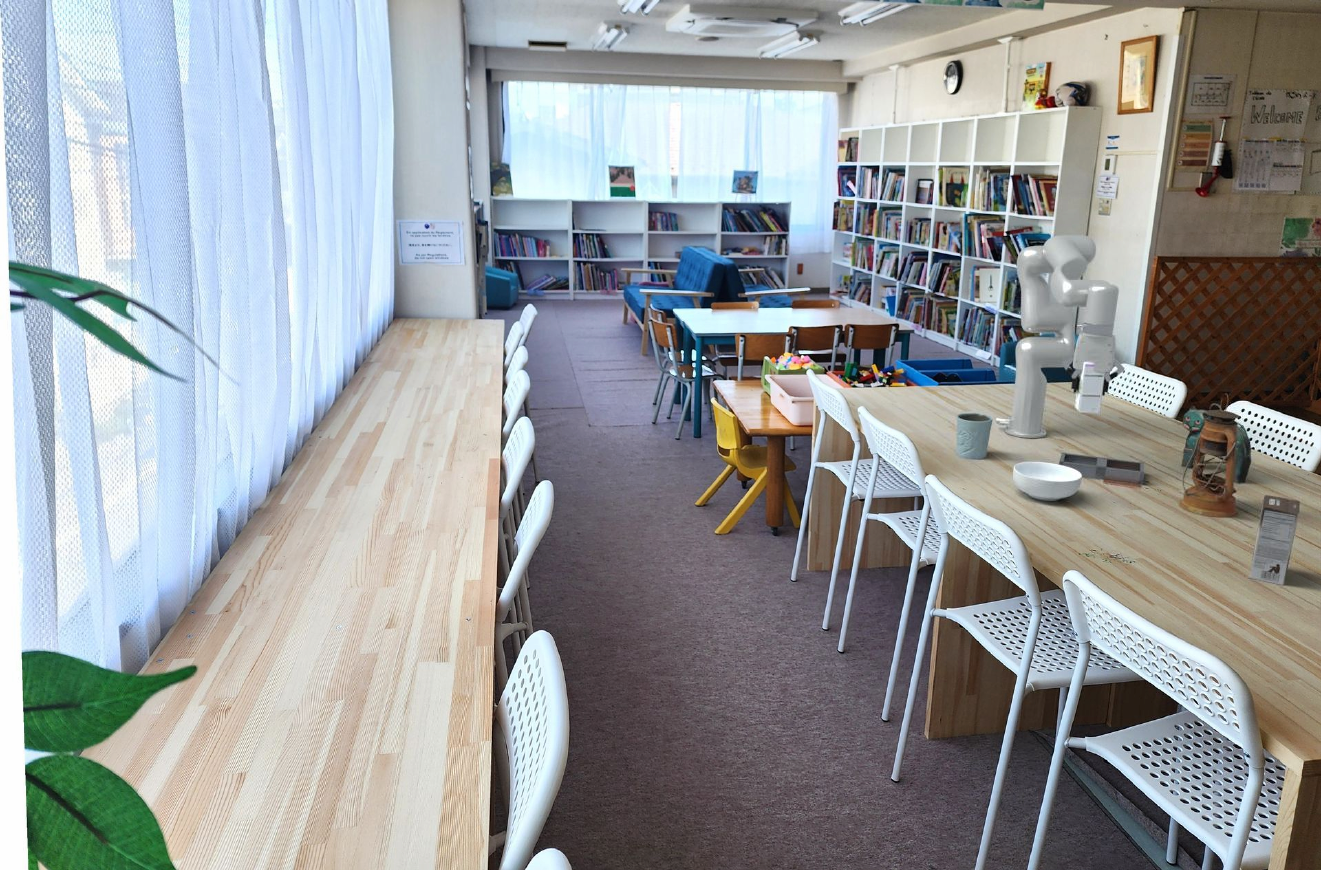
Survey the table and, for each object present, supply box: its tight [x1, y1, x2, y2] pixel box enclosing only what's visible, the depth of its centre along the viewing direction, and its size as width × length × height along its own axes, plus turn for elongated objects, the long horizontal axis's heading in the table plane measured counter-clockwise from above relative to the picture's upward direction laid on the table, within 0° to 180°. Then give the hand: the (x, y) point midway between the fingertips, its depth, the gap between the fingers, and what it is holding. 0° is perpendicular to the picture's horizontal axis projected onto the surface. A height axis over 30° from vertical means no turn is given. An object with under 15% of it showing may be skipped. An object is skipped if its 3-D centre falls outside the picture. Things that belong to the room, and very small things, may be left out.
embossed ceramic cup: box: [955, 412, 993, 460], centre depth 279 cm, size 10×10×12 cm
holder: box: [1058, 452, 1146, 489], centre depth 262 cm, size 22×14×4 cm, turn 64°
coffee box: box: [1249, 494, 1301, 586], centre depth 196 cm, size 9×6×16 cm
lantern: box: [1178, 393, 1240, 518], centre depth 233 cm, size 17×13×30 cm
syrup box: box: [1074, 362, 1105, 415], centre depth 259 cm, size 6×6×14 cm
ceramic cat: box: [1181, 403, 1252, 484], centre depth 263 cm, size 20×6×20 cm, turn 22°
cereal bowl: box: [1012, 461, 1083, 502], centre depth 245 cm, size 17×17×7 cm
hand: (1089, 392), depth 260 cm, fingers closed on syrup box, 6 cm apart
